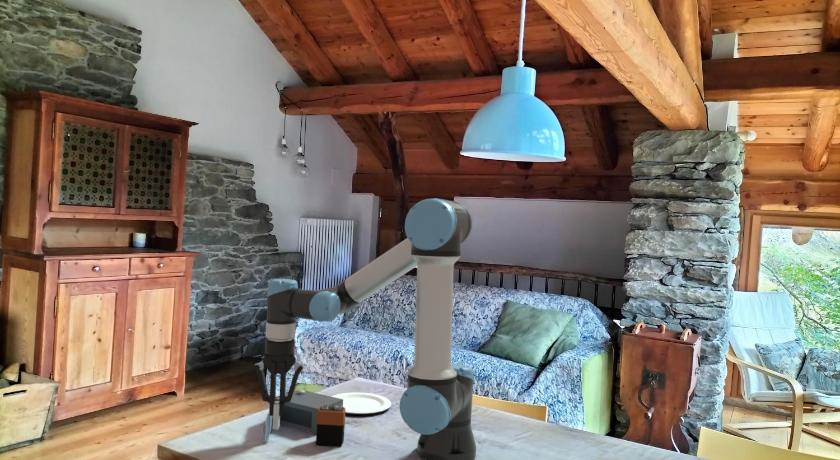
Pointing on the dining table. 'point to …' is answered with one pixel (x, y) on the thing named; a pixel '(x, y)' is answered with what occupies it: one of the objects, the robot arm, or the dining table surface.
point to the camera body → (305, 409)
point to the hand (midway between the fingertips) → (276, 427)
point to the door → (267, 426)
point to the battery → (330, 426)
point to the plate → (363, 403)
